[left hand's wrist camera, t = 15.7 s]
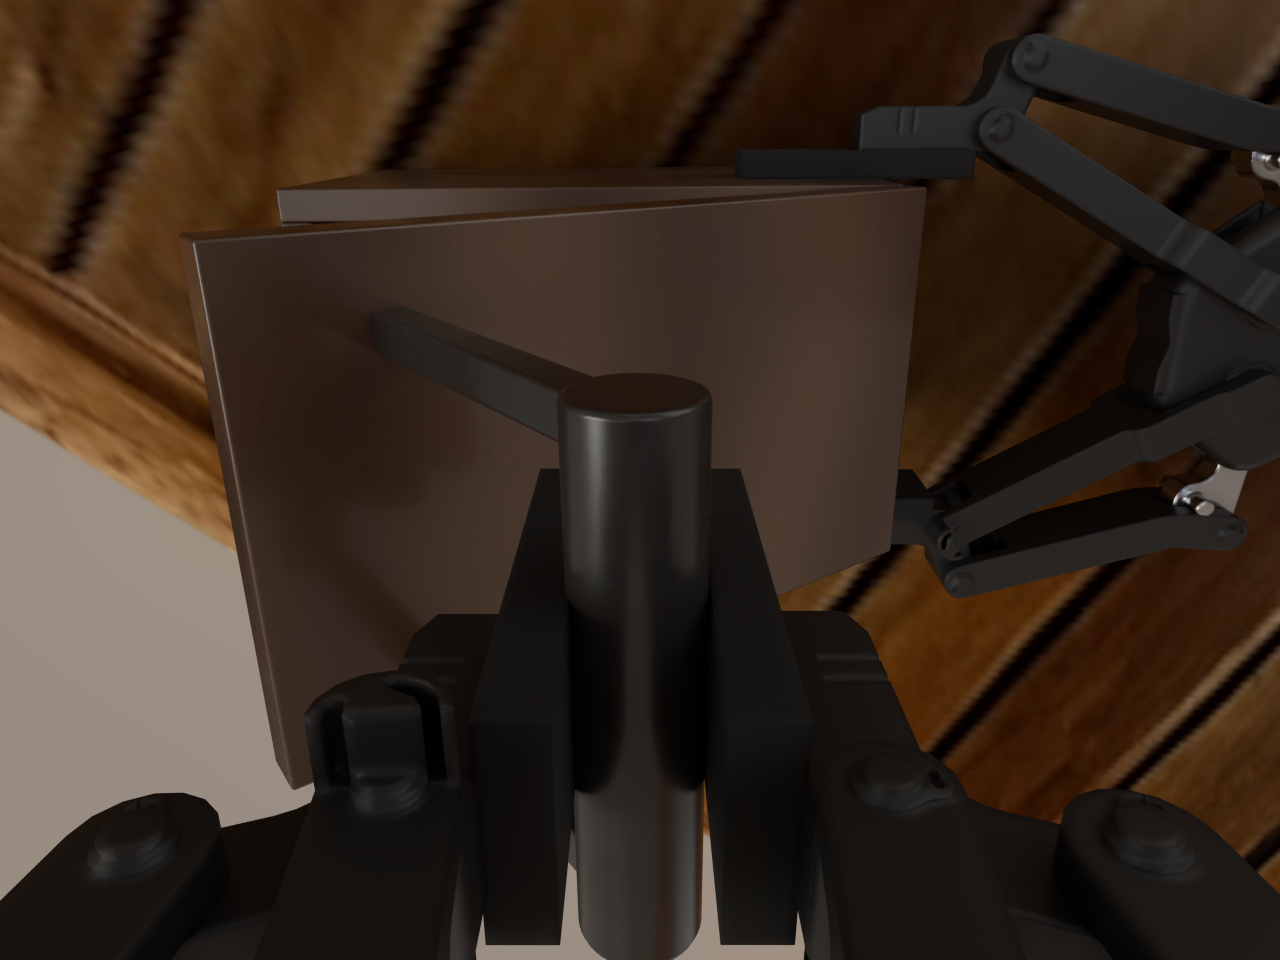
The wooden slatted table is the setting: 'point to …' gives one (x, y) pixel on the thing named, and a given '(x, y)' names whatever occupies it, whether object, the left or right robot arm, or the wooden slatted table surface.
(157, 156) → the wooden slatted table surface
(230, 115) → the wooden slatted table surface
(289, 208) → the chest
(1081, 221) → the right robot arm
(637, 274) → the lid
